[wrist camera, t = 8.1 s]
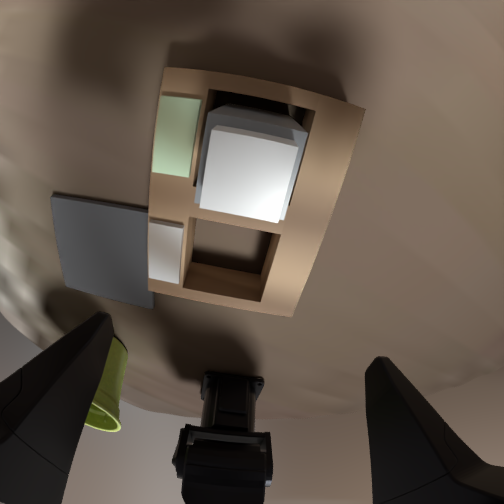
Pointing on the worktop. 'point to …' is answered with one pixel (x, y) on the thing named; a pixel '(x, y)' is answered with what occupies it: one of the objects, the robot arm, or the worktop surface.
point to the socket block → (283, 233)
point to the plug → (249, 162)
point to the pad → (103, 248)
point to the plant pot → (109, 391)
